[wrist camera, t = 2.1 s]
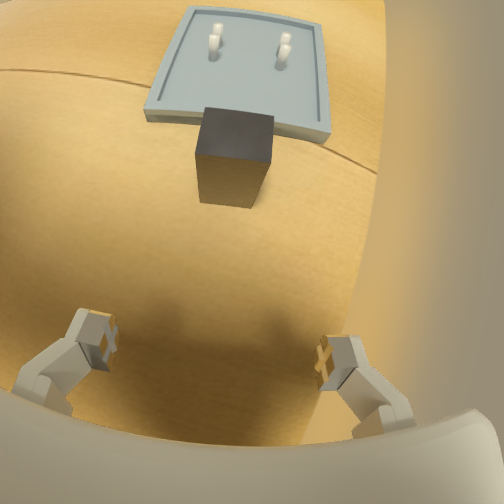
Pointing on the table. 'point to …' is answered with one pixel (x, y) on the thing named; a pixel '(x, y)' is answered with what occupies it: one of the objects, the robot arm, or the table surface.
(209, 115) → the drive
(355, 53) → the table surface
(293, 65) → the tray
